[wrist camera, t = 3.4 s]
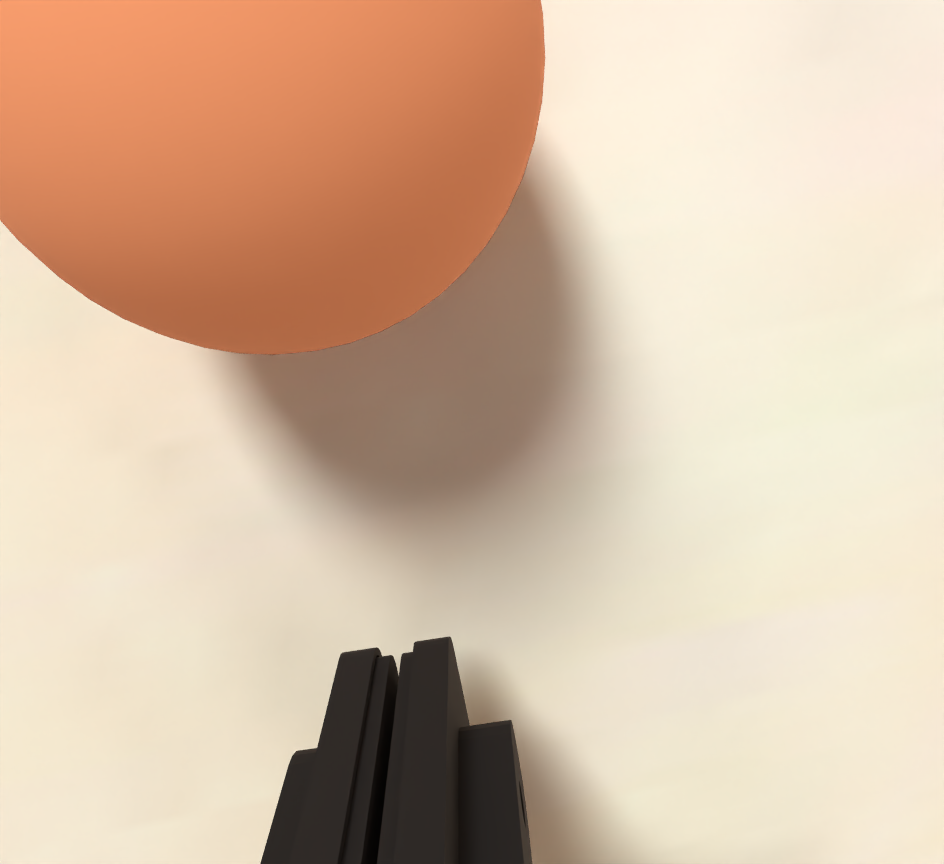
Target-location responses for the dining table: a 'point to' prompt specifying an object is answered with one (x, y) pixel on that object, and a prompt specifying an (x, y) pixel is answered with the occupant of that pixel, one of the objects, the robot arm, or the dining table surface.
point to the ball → (264, 156)
